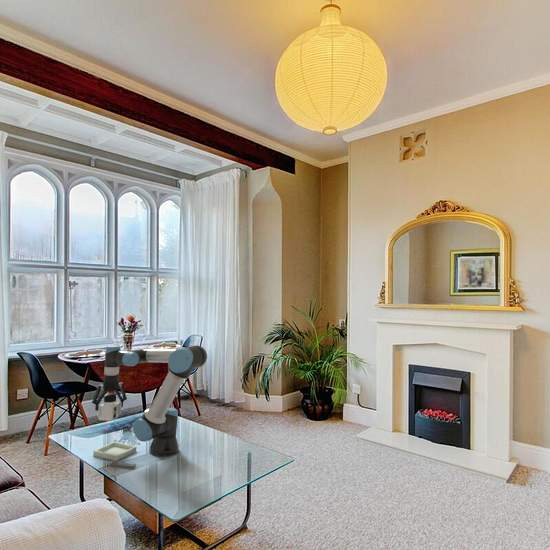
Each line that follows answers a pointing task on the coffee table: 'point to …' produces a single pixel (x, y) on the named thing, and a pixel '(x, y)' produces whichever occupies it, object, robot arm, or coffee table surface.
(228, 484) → the coffee table surface
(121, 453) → the parts tray
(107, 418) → the container
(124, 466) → the puller tool
